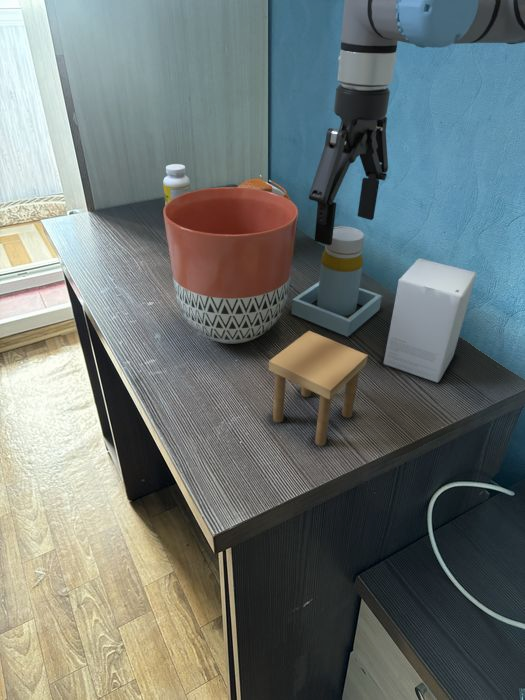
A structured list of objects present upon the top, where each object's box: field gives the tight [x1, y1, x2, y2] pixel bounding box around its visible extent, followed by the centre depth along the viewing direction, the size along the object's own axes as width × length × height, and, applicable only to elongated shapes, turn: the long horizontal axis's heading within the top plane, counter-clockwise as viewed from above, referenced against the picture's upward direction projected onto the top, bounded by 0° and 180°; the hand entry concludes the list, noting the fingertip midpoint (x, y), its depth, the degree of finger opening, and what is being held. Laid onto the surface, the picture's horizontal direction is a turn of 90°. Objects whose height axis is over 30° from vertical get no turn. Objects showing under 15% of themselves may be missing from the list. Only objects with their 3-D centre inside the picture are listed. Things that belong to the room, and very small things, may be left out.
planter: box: [162, 186, 299, 345], centre depth 81 cm, size 20×20×21 cm
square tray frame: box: [291, 281, 383, 338], centre depth 93 cm, size 12×12×3 cm
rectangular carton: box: [382, 257, 478, 383], centre depth 78 cm, size 9×9×15 cm
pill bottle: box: [162, 163, 191, 205], centre depth 128 cm, size 6×6×12 cm
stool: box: [268, 330, 369, 447], centre depth 68 cm, size 9×9×10 cm
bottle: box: [316, 225, 365, 318], centre depth 89 cm, size 7×7×15 cm
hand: (345, 229), depth 85 cm, fingers open, 13 cm apart
